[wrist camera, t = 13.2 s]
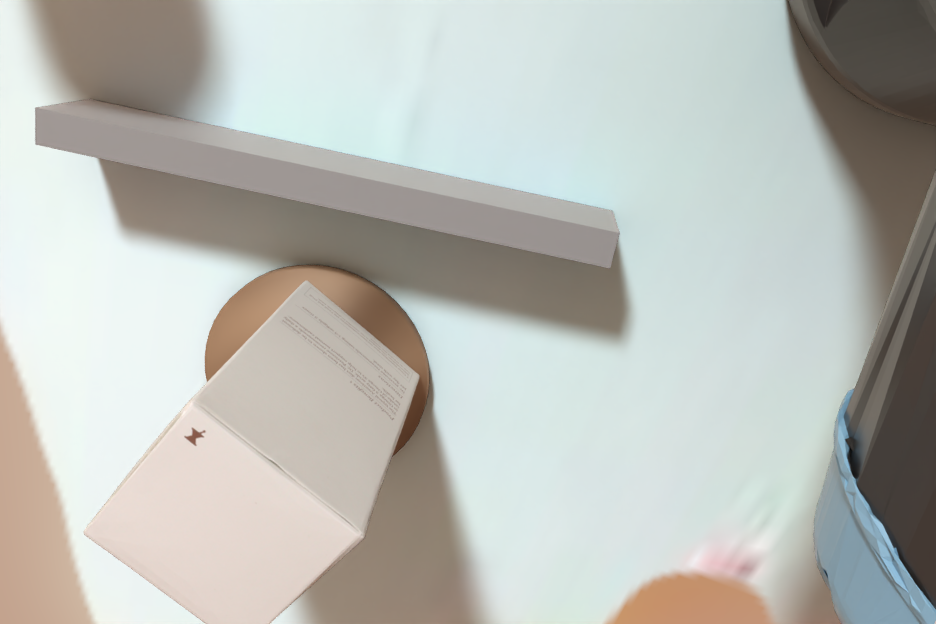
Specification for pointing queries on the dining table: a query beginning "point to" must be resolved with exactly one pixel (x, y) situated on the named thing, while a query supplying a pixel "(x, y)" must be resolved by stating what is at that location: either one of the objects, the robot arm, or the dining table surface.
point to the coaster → (349, 295)
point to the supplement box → (264, 467)
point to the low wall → (330, 179)
